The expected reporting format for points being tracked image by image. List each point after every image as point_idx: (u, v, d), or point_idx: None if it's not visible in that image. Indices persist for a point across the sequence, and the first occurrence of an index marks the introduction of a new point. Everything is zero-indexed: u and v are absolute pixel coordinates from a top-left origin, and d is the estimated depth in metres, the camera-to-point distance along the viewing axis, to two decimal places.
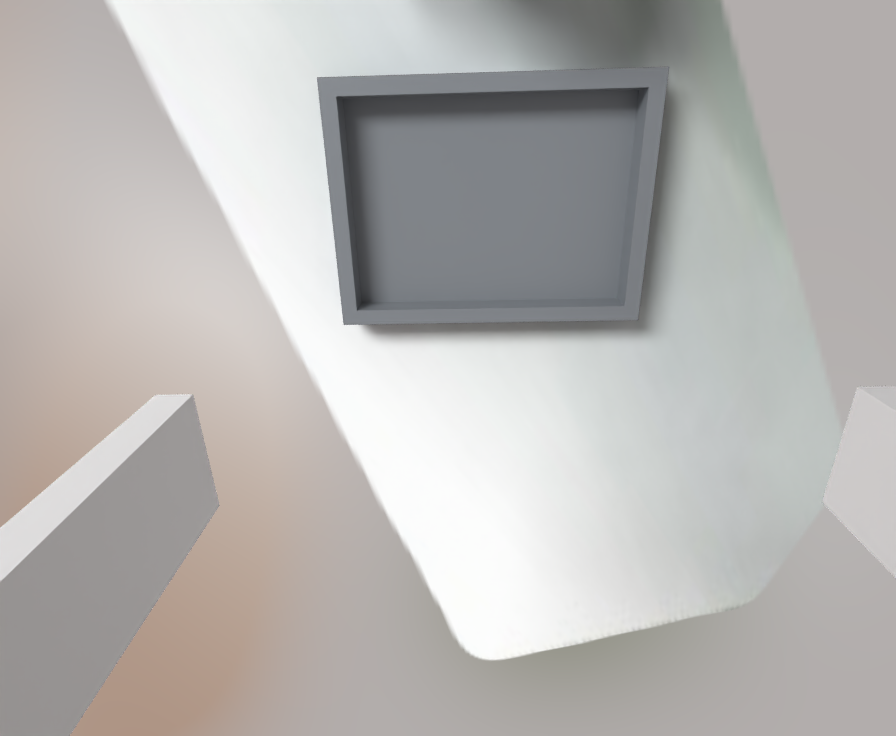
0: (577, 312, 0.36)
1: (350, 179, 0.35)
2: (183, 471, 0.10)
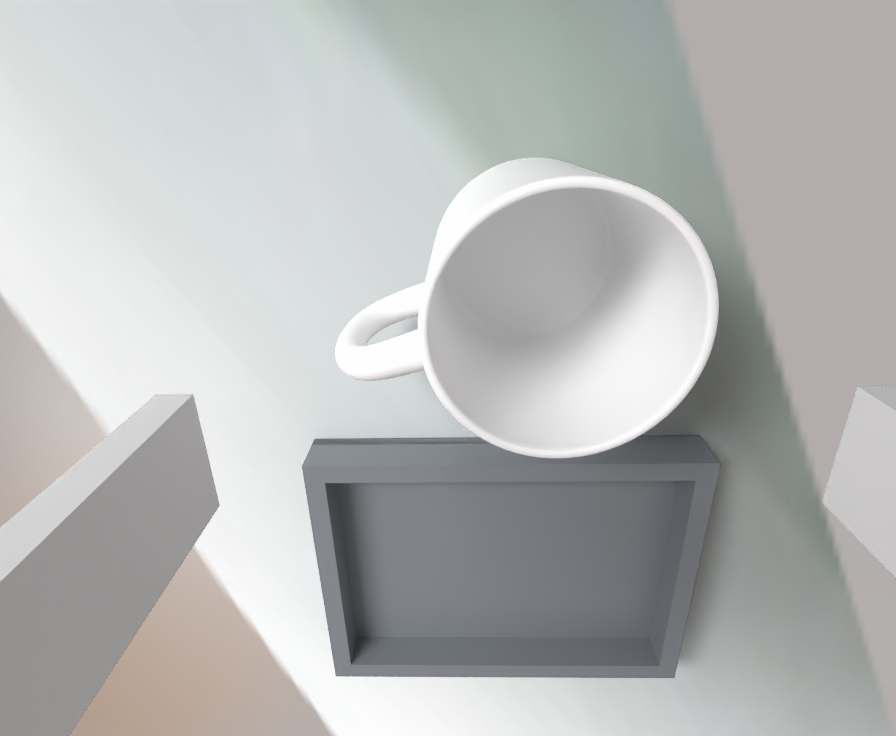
0: (604, 670, 0.31)
1: (343, 533, 0.30)
2: (183, 471, 0.10)
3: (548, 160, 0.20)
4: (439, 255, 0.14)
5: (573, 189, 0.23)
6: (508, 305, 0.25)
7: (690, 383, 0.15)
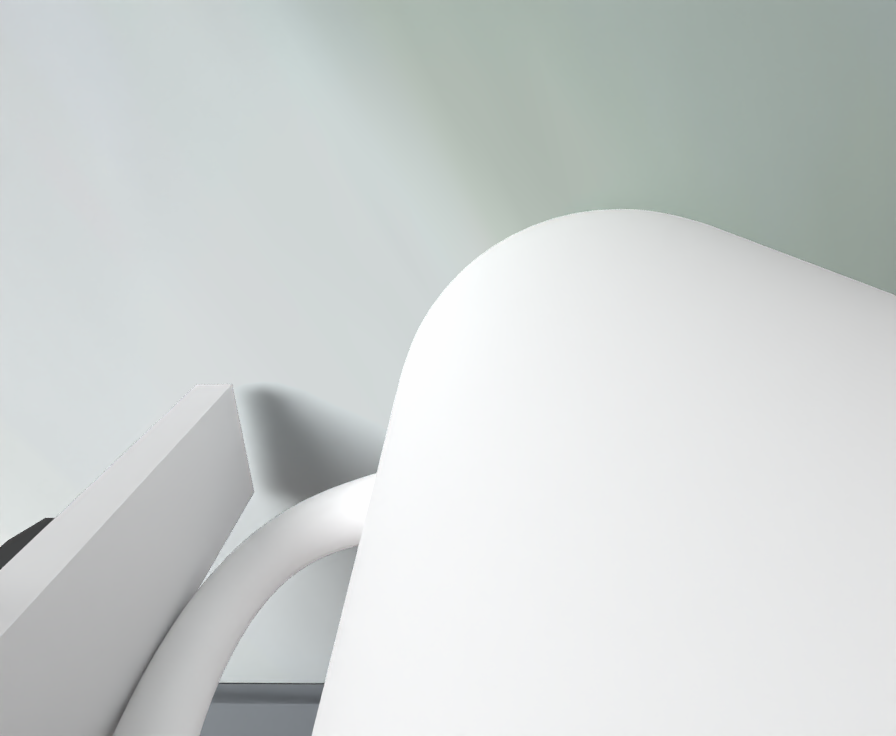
0: None
1: None
2: (224, 457, 0.11)
3: (684, 229, 0.07)
4: None
5: None
6: None
7: None
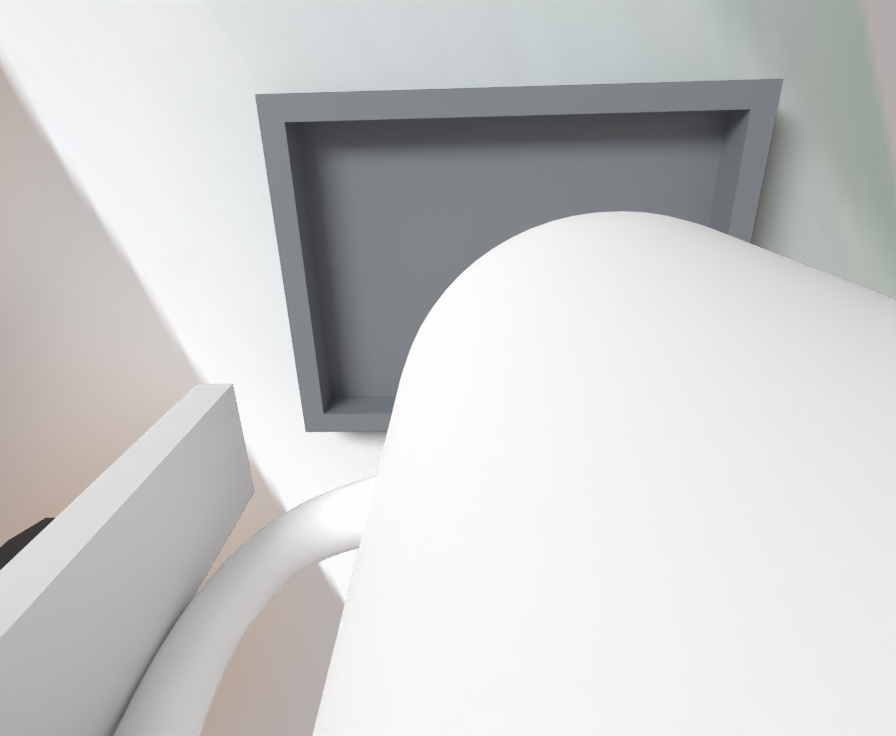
0: None
1: (312, 235, 0.25)
2: (224, 457, 0.11)
3: (684, 232, 0.07)
4: None
5: None
6: None
7: None
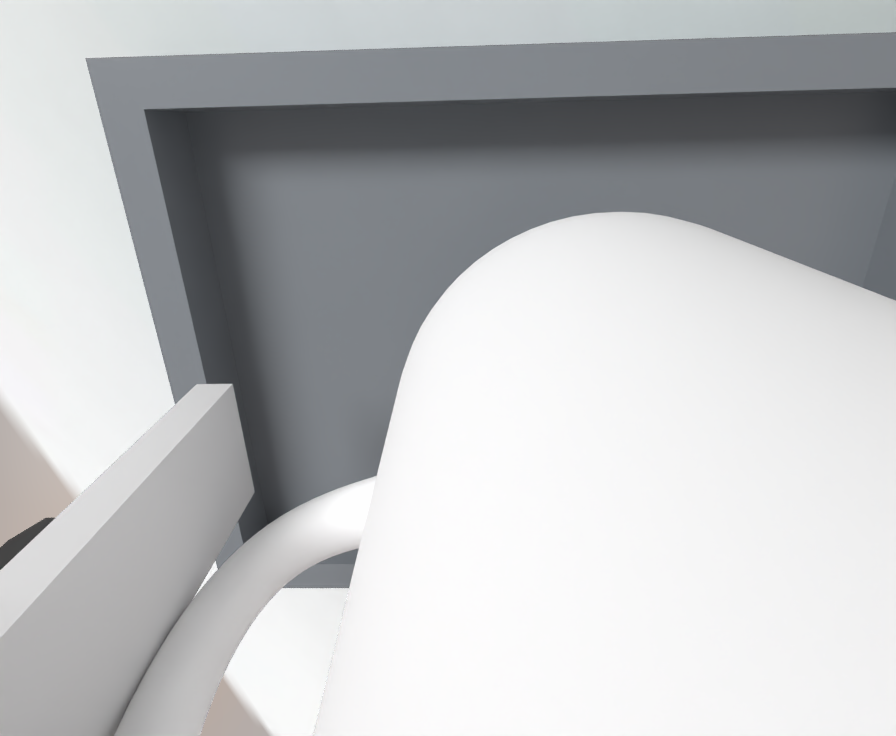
0: None
1: (221, 294, 0.15)
2: (224, 457, 0.11)
3: (684, 233, 0.07)
4: None
5: None
6: None
7: None
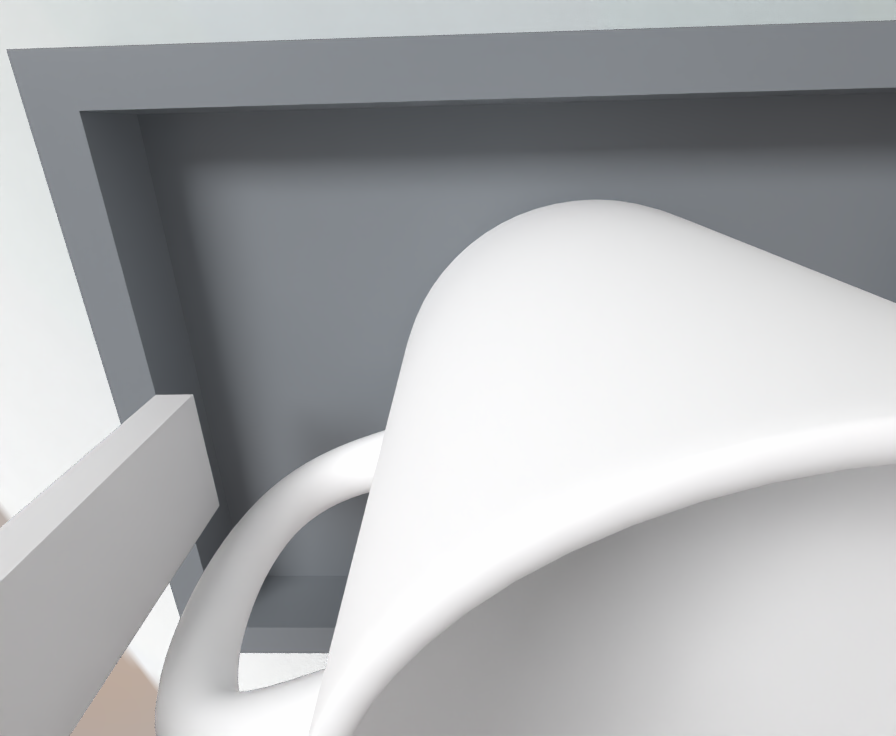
0: None
1: (185, 324, 0.13)
2: (183, 471, 0.10)
3: (640, 214, 0.09)
4: (352, 669, 0.04)
5: None
6: None
7: None
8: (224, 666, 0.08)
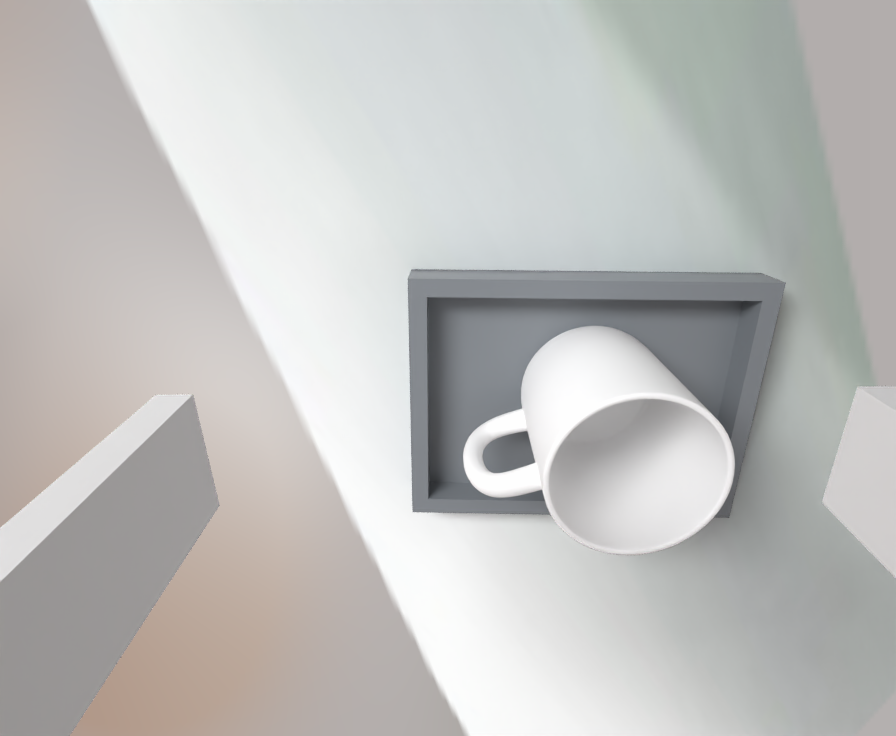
0: None
1: (429, 366, 0.33)
2: (183, 471, 0.10)
3: (613, 339, 0.28)
4: (562, 433, 0.23)
5: None
6: None
7: (715, 510, 0.24)
8: (489, 472, 0.27)
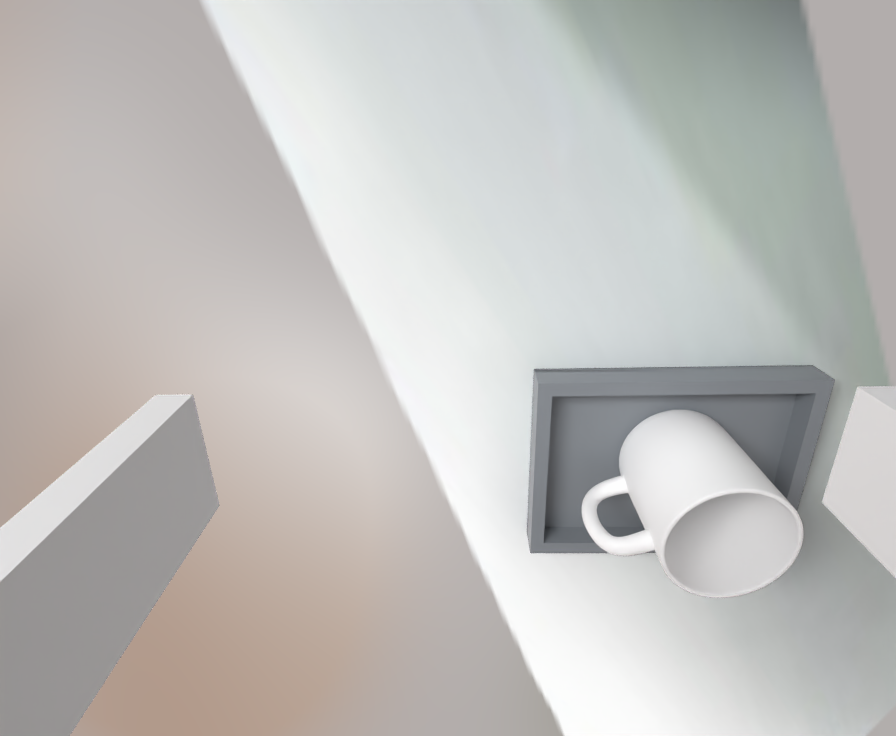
0: None
1: None
2: (183, 471, 0.10)
3: (699, 427, 0.37)
4: (676, 516, 0.31)
5: None
6: None
7: (787, 566, 0.32)
8: (609, 534, 0.36)
